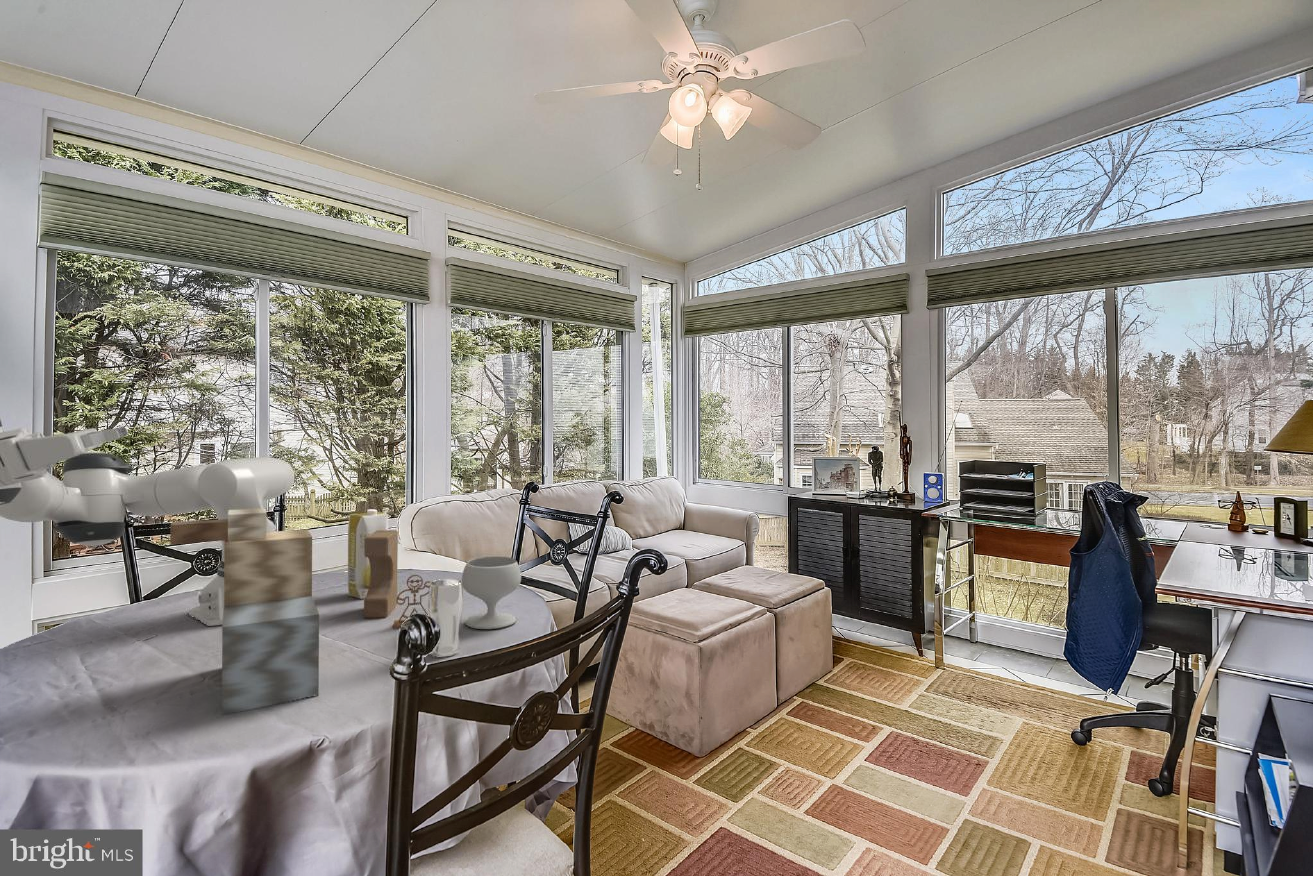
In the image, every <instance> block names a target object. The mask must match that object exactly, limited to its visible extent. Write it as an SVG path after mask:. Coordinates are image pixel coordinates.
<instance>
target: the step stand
mask: <svg viewBox="0 0 1313 876" xmlns="http://www.w3.org/2000/svg"><path fill="white" fill-rule="evenodd" d="M312 595H313V536H312V534H311V532H310V531H309V529H291V530H281V531H280V530H278V531H276V530H275V532H266V539H261V540H247V541H234V542H228V540H226V541H225V543H224V614H223V624H222V625H221V627H222V629H221V633H222V635H221V647H222V648H221V650H222V651H221V652H222V653H221V654H222V655H221V715H222V716H223V715H228V714H234V713H238V712H244V711H249V710H254V709H258V708H264V707H268V706H273V705H278V703H279V704H283V703H287V702H286V701H289V702H293V701H292V700H294V701H296V700H295V699H299V700H303V699H302V698H304V699H306V698H305V697H309V698H312V697H311V696H314V695H319V693H320V692H319V688H320V687H319V683H320V682H319V679H320V678H319V675H320V674H319V672H320V671H319V669H320V667H319V665H320V661H319V660H320V613H319V611H318V608H317V605H316V603H315V601H314V598H313V596H312ZM314 697H315V696H314Z"/></svg>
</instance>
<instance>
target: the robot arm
mask: <svg viewBox="0 0 1313 876" xmlns="http://www.w3.org/2000/svg"><path fill="white" fill-rule="evenodd" d="M2 426H3V424H2V421H1V419H0V517H1V518H4V519H7V520H10V521H15V522H20V523H39V522H46V521H47V522H48V521H53V522H54V523H55V525H56V527H53V528H52V530H53V532H56V533H59V534H60V535H61V536H62V537H63V539H64V540H66V541H68V542H70V543H72V544H74V545H80V546H86V547H96V546H97V547H99V546H102V545H106V544H109V543H111V542H114V541H116V540H119V539H120V538H121V537H122V536H123V534H124V531H125V527H126V522H124V521H125V515H126V514H125V513H126V509H127V511H128V512H129V513H131V514H133V515H136V516H142V517H164V516H175V515H181V514H186V513H193V512H201V511H206V510H212V509H213V510H214V511H215V514H216V516H217V520H221V519H228V511H229V510H241V509H260V508H264V506H263V501H268V500H273V499H275V498H277V497H279V496H281V495H283V494H285V493H287V492H288V491H289V490H290V489H291V488H292V486H293V485H294V481H295V473H294V469H293V467H292V466H291V465H290V464H289V463H288V462H287V461H285V460H283V459H279V458H276V457H270V456H259V457H245V458H243V457H242V458H232V459H224V460H221V461H218V462H216V463H209V464H203V465H202V464H201V465H196V466H189V467H183V468H182V467H181V468H175V469H170V470H165V471H164V470H163V471H159V472H154V473H151V474H145V475H137V476H136V475H131V474H129V473H131V472H133V471H134V468H133V466H130V465H127V463H126V462H125V461H124V460H123V459H121V458H120V457H119V456H117V455H114V454H113V453H107V452H103V451H91V450H94V449H96V448H99V447H102V446H103V444H105V443H108V442H112V441H116V440H119V439H120V438H123V437H127V436H128V435H129V431H128V429H127V427H126V426H120V427H119V426H118V427H115V428H110V429H102V430H99V431H98V429H96V428H95V427H92V428H86V429H81V430H78V431H73V432H69V433H64V434H58V435H57V434H55V435H48V436H45V435H44V433H42V432H40V431H39V432H35V433H31V432H30V431H29V430H28V429H27V428H25V427H24V428H23V427H20V428H17V429H12V430H8V431H7V430H6V431H4V430H3V427H2ZM63 461H64V465H63V467H62V474H63V478H62V481H61V479H59V478H58V477H56V476H55V475H53V474H52V473H50V472H48V470H47V469H50V468H51V469H52V468H54V467H55V466H56V464H57V463H60V462H63ZM275 531H276V525H275V524H274V522H273V521H272V520H270V519H269V518H268V515H267V516H266V532H275ZM224 543H225V541H221V560H219V561H216V563H217V565H216V567H217V570H216V571H217V573H216V575H217V576H215V577H214V578H213V579H212V580H211V581H210V582H209V583H208V584H206V585H205V586H204V587H203V588H202V589H201V590H200V594H198V598H197V600H198V603H199V605H198V606H196V607H193V608H191V609H189V610H188V611H187V614H188V613H189V615H188V616H190V615H191V616H190V617H192V616H193V617H195V618H196V619H195V618H194V619H195V620H197V619H198V620H200V621H201V622H200V621H199V622H200V623H202V622H203V623H204V625H205V624H206V625H205V626H208V627H211V626H222V625H223V614H224ZM193 617H192V618H193ZM198 620H197V621H198ZM203 623H202V624H203Z"/></svg>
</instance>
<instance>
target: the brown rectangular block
mask: <svg viewBox="0 0 1313 876" xmlns="http://www.w3.org/2000/svg"><path fill="white" fill-rule="evenodd" d="M266 516H267V517H268V515H267V509H266V508H265V507H263V508H260V509H241V510H229V511H228V519H221V520H219V519H207V520H190V521H171V523H170V525H169V527H170V530H169V531H170V533H169V534H170V535H169V541H170V542H169V543H170V544H169V545H171V546H172V545H181V544H182V545H183V544H195V543H196V544H197V543H211V542H222V541H226V540H228V542H234V541H247V540H261V539H266Z"/></svg>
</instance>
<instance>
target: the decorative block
mask: <svg viewBox="0 0 1313 876" xmlns="http://www.w3.org/2000/svg"><path fill="white" fill-rule="evenodd" d="M398 536H399V533H398V530H397V529H396V530H395V529H391V530H390V529H388V530H377V531H375V532H374V533H372V534H371V535H369V536H368V537H366V538H365V548H364V556H365V557H368V559H369V562H370V584H369V589H368V593H367V596H366V598H365V599H363V617H364V619H381V618H383V617H386V618H387V617H388V616H389V615H390V614H391V613H392V611H393V610H394V609H395V608H396V606H397V605H398V604H397V596H398V559H399V558H398V554H399V553H398V551H399V548H398V545H399V544H398V542H399V537H398ZM383 619H384V618H383Z"/></svg>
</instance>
